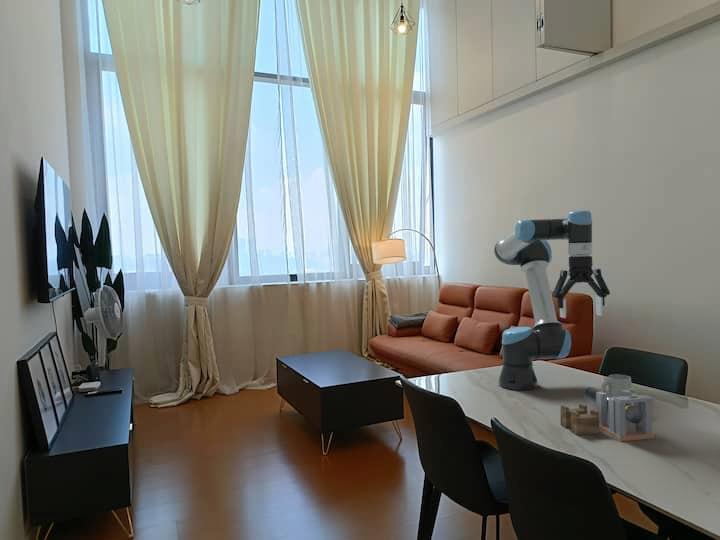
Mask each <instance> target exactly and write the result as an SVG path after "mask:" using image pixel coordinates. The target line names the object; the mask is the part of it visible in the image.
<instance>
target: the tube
mask: <svg viewBox="0 0 720 540" xmlns="http://www.w3.org/2000/svg"><path fill="white" fill-rule="evenodd" d="M596 392H602V391H601V390H600V389H598V388H596V387H593V386H589V387H588V388H586V389H585V391H584V398H585V399H586V400H587V401H588V402H591V403H593V404H595V405H596V406H597V403H596ZM606 394H607V410H608V398H612V397H613V396H611V395H609V393H608V392H607V393H606ZM608 411H609V410H608ZM642 418H643V412H642V410H641V409H639V408H637V407H635V406H633V405H631V404H628V403H626V420H627V421H630V422H632V423H634V424H636V423H639V422H640V421H641V420H642Z"/></svg>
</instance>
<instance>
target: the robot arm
mask: <svg viewBox="0 0 720 540" xmlns="http://www.w3.org/2000/svg"><path fill="white" fill-rule="evenodd" d="M592 218H593V217H592V212H591V211H589V210H574V211H570V212H568V215H567V218H549V219H545V218H544V219H524V220H523V219H522V220H518V221H517V222H516V225H515V227H514V228H515V229H514V232H512V233H511V234H510V235H508V236H507V237H504V238H501V239H499V240H498V241H497V242H496V244H495V246H494V247H493V248H494V249H493V251H494V255H495V257H496V258H497V260H498V261H499V262H501V263H503V264H505V265H508V266H509V265H510V266H520V270H521V271H522V272H524V273H525V276H526V277H525V278H526V283H527V287H528V291H529V297H530V303H531V307H532V308H531V309H532V312H533V318H534V323H535V324H534V326H532V327H530V326H517V327H515V326H514V327H512V328H507V329H505V330H504V331H503V332H502V334H501V335H502V336H501V337H502V339H501V347H502V349H501V350H502V368H501V370H500V374H499V377H498V385H499V387H501V388H504V389H507V390H508V389H509V390H514V391H529V390H535V389H537V388H538V385H539V384H538V379H537V376H536V372H535V370H534V364H533V361H534V360H549V359H550V360H553V359H554V360H556V359H564V358H566V357H567V356H568V355H569V353H570V351H571V346H572V338H571V334H570V333H571V332H569V329H568V328H567V329H566V328H564V327H563V324H562V322H560V321H558V317H557V314H556V310H555V304H554V300H553V298H556V299H557V308H558V309H559V317H560V318H563V319H566V318H567V302H566V301H567V300H566V298H565V297H566V295H567V294H568V293H569V292H570V291H571V289H572V288H573V286H574V285H575V284H576V283H587V284H588V285H589V287H590V288H591V289H592V290H593V291H594V293H595V294H596V295H597V296H595V315H596V316H599V317H603V316H604V313H603V312H604V311H603V310H604V309H603V308H604V306H605V304H606V303H605V298H606V297H607V296H609V295H610V294H611V292H610V290H609V288H608V285H607V283H606V282H605V279H604V278H603V275H602V269H601V268H594V269H592V267H593V256H591V255H592V254H593V219H592ZM548 240H549V241H551V240H556V241H557V240H568V255H569V257H568V269H569V270H564V269H561V270H560V273H559V278H558V280H557V283H556V285H555V287H554V289H553V291H551V286H550V282H549V276H548V273H547V269H548V267H549V265H550V263H551V262H552V259H553V258H552V247H551V245H550V243H549V242H548ZM592 275H593V276H594V278H593V277H592ZM568 277H569V278H568ZM567 278H568V279H567ZM566 280H567V282H566ZM595 280H596V281H595ZM596 282H597V283H596Z"/></svg>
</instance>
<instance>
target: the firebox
mask: <svg viewBox="0 0 720 540" xmlns="http://www.w3.org/2000/svg"><path fill="white" fill-rule="evenodd" d="M607 394H608V393H607ZM607 394H606V393H604V392H596V403H597V405H596V411H597V412H599V431H601V432H603V433H604V434H607V435H608V436H610V437H612V438H614V440H617V441H619V442H629V441H638V440H639V441H640V440H647V439H650V440H651V439H655V438H656V435H655V433H653V402H654V397H652V396H650V395H648V394H638V395H635V396H632V392H631V391H628V390H621V397H612V398H608V410H609V411H608V410H607ZM626 403H628V404H631V405H632V403H634V406H635V407H637V408H639V409H641V410H642V412H643V418H642V420H641V421H640V422H639V423H636V424H634V423H632V422H630V421H627V420H626Z"/></svg>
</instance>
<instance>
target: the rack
mask: <svg viewBox="0 0 720 540" xmlns="http://www.w3.org/2000/svg"><path fill="white" fill-rule="evenodd" d="M588 410H589V413H588ZM559 411H560V426H562V427H564V428H565V429H570V432H571V433H573V434H574V435H576V436H581V435H591V434H593V435H594V434H600V429H599V412H597V409H596V410H595V409H594V408H590V409H588V406H587V405H586V404H585V403H583V402H581V403H580V402H578V407H573V408H572V407H571V408H570V407H569V406H567V405H565V404H560V410H559Z"/></svg>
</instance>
